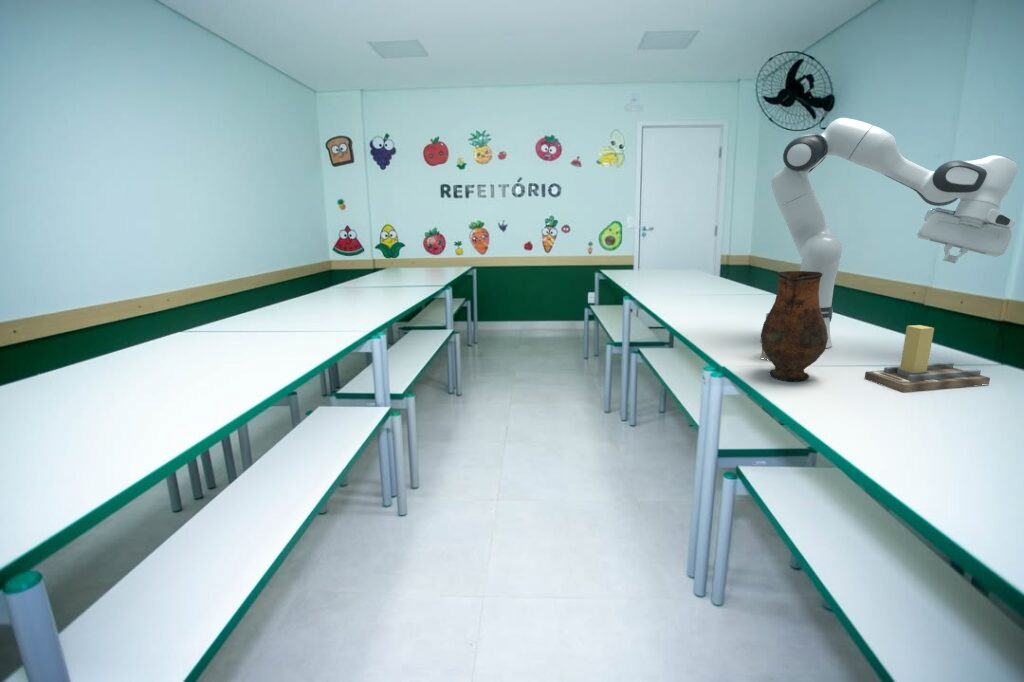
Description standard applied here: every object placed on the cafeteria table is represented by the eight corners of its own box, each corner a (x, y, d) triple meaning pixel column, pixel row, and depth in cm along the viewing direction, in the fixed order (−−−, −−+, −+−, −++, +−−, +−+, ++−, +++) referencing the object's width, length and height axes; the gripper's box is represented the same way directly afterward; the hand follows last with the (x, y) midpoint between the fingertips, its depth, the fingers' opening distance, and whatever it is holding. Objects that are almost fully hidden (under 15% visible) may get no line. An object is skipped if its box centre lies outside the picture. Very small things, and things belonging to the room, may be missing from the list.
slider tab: (912, 372, 137) (920, 324, 134) (927, 377, 133) (936, 328, 130) (896, 373, 136) (904, 325, 133) (911, 378, 132) (920, 329, 129)
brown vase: (750, 378, 142) (759, 274, 135) (768, 361, 158) (777, 267, 151) (816, 389, 132) (830, 276, 125) (829, 370, 148) (842, 269, 141)
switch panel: (944, 371, 143) (946, 360, 142) (988, 384, 132) (991, 372, 131) (864, 378, 140) (866, 366, 139) (903, 392, 128) (905, 379, 127)
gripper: (933, 203, 143) (909, 249, 145) (1023, 223, 134) (996, 271, 136) (927, 208, 148) (905, 252, 151) (1013, 227, 139) (988, 274, 142)
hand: (949, 261), depth 144 cm, fingers closed
